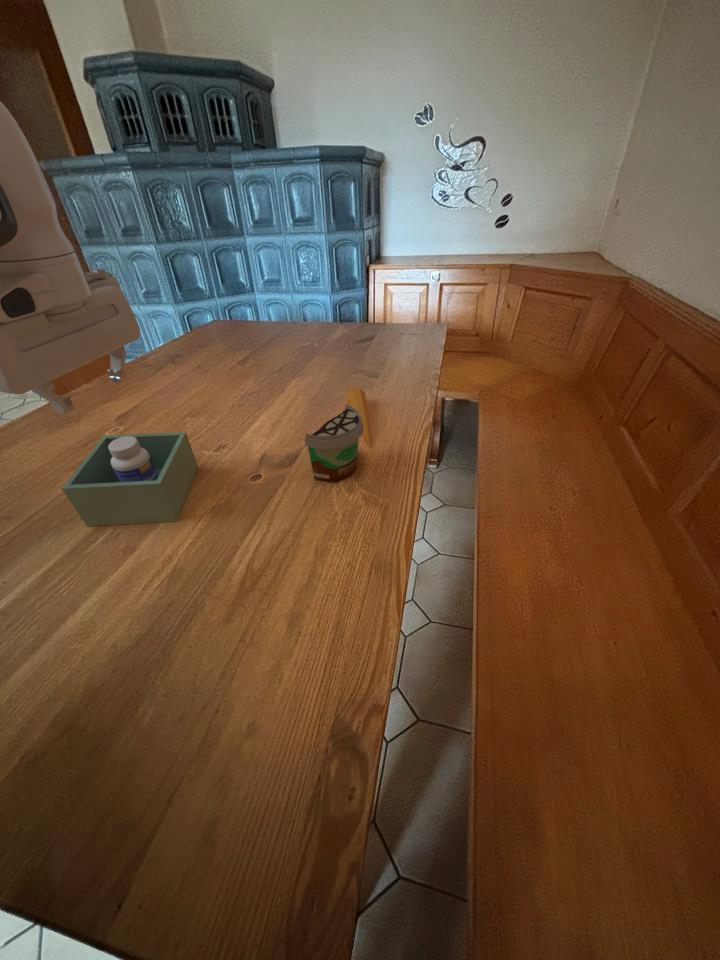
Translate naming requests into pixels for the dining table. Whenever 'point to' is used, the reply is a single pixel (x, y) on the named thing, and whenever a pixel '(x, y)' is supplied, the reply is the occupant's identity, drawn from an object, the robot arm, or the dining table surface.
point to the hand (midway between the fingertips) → (94, 394)
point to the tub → (134, 483)
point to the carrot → (360, 409)
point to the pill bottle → (131, 461)
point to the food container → (335, 446)
